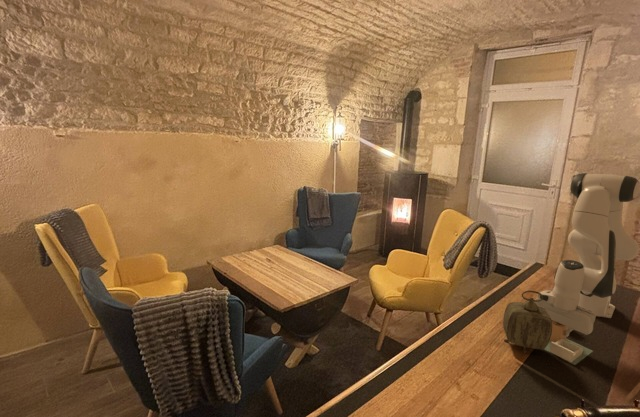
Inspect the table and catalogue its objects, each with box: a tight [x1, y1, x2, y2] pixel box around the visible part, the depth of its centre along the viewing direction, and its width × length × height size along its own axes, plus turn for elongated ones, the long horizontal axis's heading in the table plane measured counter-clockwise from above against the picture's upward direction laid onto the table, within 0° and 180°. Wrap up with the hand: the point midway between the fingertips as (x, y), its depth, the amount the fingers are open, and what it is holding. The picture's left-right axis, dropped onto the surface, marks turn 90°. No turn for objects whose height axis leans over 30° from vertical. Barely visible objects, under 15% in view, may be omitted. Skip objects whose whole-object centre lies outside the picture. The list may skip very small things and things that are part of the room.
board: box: [543, 338, 594, 366], centre depth 131 cm, size 16×20×1 cm
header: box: [549, 339, 583, 363], centre depth 125 cm, size 9×7×4 cm
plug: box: [550, 321, 568, 342], centre depth 133 cm, size 6×4×8 cm, turn 122°
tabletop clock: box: [502, 290, 552, 354], centre depth 125 cm, size 14×9×25 cm, turn 71°
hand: (558, 332), depth 133 cm, fingers closed on plug, 4 cm apart
